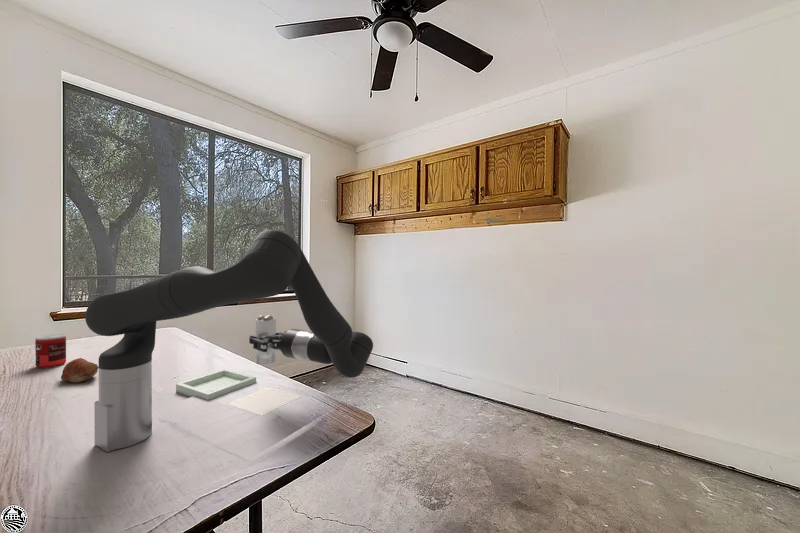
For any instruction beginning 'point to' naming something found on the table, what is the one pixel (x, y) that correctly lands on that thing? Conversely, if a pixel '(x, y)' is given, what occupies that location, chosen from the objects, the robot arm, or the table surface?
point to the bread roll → (79, 370)
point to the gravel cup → (264, 329)
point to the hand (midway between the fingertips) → (259, 337)
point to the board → (264, 401)
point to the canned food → (50, 350)
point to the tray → (214, 384)
